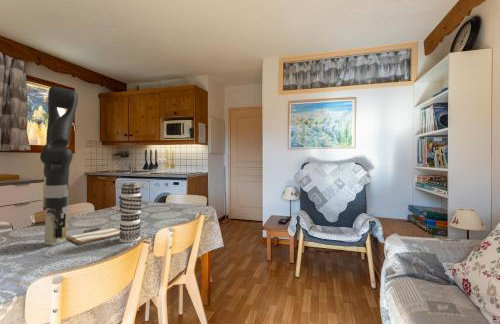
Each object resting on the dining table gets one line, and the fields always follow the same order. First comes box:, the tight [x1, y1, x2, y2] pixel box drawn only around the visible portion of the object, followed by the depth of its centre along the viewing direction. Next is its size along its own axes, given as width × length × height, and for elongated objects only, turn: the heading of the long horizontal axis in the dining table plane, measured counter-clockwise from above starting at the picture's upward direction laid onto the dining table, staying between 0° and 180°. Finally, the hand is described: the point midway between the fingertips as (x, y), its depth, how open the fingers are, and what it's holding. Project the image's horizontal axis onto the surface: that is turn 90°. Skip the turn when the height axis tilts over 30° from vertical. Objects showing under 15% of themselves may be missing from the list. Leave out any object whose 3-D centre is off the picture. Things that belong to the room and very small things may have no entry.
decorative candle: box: [118, 182, 143, 243], centre depth 112 cm, size 9×9×25 cm
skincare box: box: [44, 213, 68, 246], centre depth 105 cm, size 6×4×12 cm
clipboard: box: [66, 226, 121, 246], centre depth 116 cm, size 14×20×2 cm
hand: (55, 235), depth 105 cm, fingers closed on skincare box, 5 cm apart
